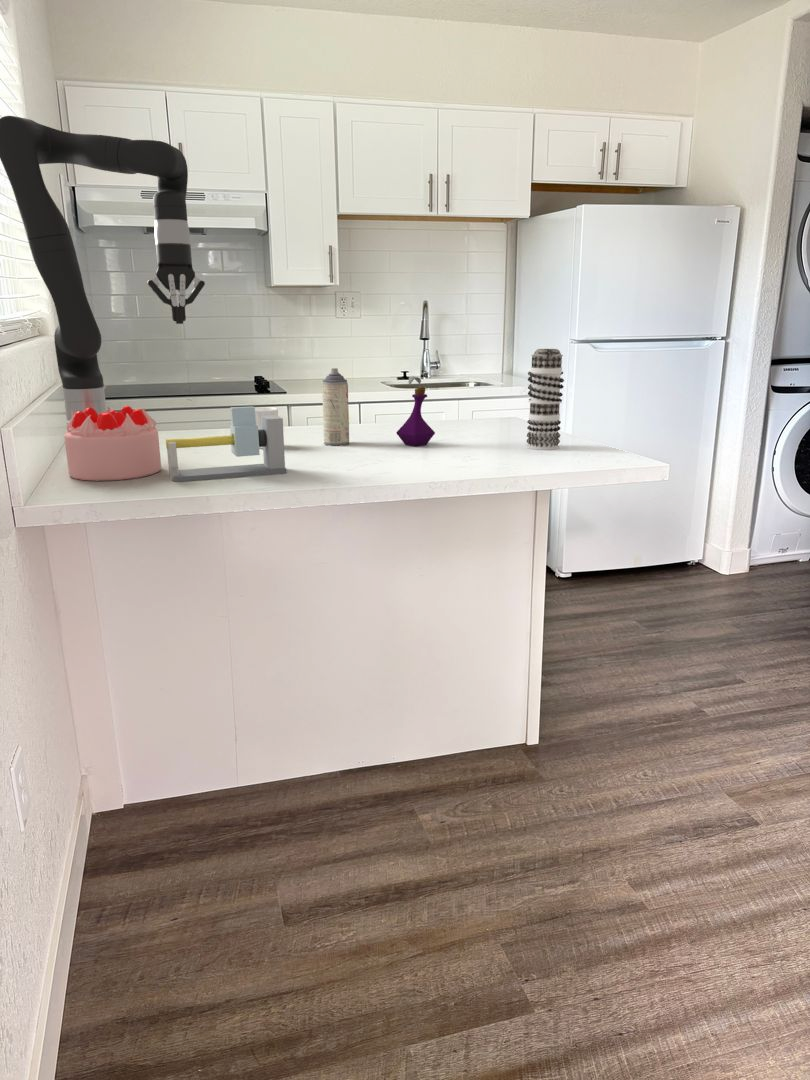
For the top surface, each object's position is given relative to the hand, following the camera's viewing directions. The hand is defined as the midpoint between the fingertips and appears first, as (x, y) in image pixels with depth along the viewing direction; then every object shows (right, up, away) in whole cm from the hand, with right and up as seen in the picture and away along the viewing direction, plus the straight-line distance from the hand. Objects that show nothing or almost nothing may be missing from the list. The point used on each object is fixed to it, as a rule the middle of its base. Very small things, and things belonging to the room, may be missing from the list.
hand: (179, 323), depth 180 cm
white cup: (+14, -25, +30) cm, 41 cm away
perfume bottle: (+54, -24, +32) cm, 67 cm away
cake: (-13, -34, -2) cm, 37 cm away
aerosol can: (+33, -24, +34) cm, 53 cm away
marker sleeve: (+16, -30, -5) cm, 34 cm away
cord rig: (+12, -35, -5) cm, 37 cm away
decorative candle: (+87, -25, +27) cm, 95 cm away
